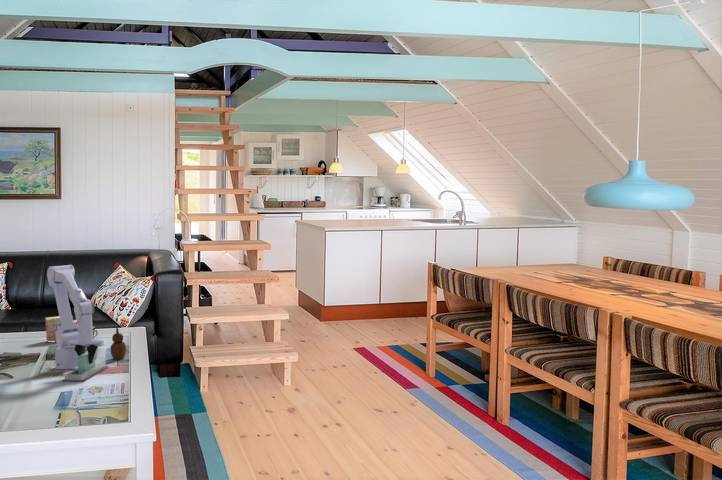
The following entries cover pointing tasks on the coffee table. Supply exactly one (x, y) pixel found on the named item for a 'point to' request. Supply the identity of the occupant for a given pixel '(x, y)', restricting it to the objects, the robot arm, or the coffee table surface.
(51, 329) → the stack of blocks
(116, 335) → the wooden figurine
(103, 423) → the coffee table surface
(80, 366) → the door panel
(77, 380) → the track
